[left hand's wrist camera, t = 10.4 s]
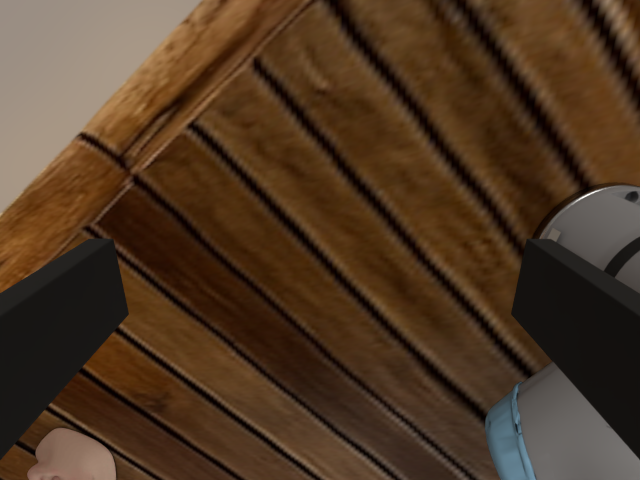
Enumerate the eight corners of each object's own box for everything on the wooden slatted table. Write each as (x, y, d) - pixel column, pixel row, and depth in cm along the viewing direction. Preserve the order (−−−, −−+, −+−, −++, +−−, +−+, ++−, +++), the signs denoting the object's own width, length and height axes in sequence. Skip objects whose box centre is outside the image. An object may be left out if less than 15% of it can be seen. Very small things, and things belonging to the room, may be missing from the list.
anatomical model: (16, 446, 47) (109, 467, 49) (38, 421, 51) (124, 440, 52) (13, 514, 52) (98, 531, 53) (33, 486, 56) (112, 503, 57)
